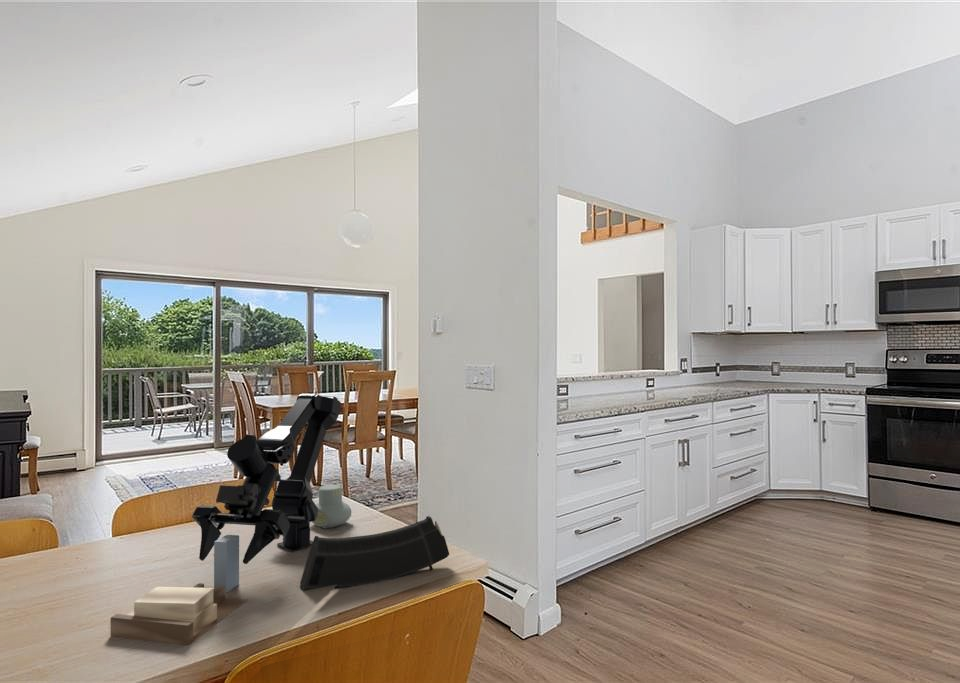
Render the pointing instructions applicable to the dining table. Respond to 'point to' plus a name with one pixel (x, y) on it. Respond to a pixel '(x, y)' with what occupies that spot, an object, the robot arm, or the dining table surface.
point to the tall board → (226, 562)
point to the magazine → (373, 556)
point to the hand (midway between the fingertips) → (222, 561)
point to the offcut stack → (178, 605)
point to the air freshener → (331, 507)
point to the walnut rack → (171, 622)
